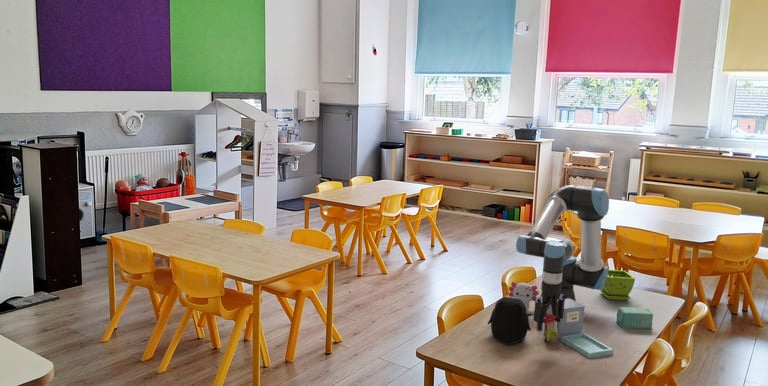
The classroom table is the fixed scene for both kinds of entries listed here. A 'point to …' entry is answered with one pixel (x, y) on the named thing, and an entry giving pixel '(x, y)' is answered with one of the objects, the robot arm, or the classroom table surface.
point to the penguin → (509, 320)
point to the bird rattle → (549, 326)
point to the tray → (587, 345)
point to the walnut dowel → (551, 340)
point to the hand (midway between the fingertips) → (546, 336)
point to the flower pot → (618, 285)
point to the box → (634, 317)
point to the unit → (570, 318)
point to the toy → (524, 293)
